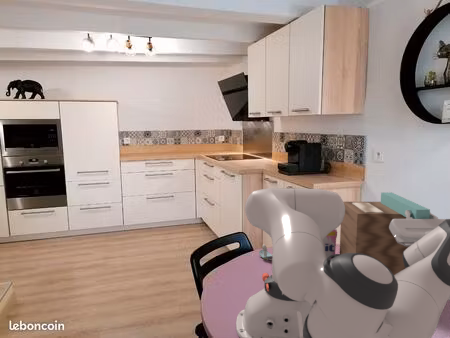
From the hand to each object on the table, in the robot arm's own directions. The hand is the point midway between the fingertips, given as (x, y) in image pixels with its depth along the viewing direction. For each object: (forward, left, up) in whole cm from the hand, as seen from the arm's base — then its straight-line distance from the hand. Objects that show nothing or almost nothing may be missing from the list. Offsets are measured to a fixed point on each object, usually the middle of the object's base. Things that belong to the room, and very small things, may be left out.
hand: (416, 211), depth 107 cm
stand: (-5, +15, -28) cm, 33 cm away
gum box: (-27, +33, -29) cm, 51 cm away
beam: (0, +9, -2) cm, 10 cm away
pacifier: (-44, +32, -29) cm, 61 cm away
